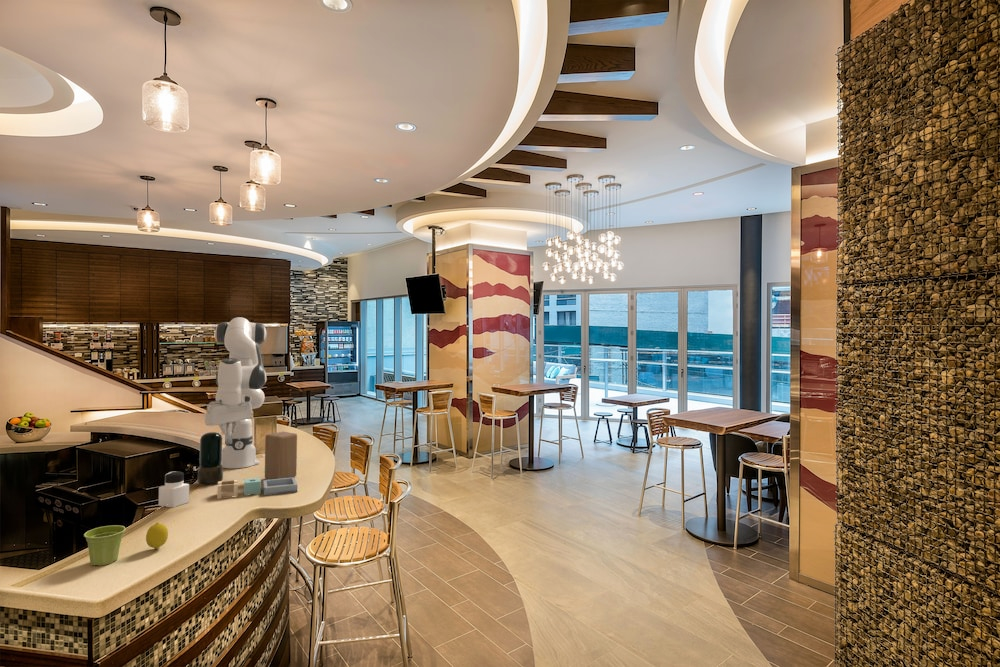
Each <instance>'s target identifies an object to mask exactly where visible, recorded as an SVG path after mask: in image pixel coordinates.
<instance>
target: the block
mask: <svg viewBox="0 0 1000 667" xmlns="http://www.w3.org/2000/svg"><path fill="white" fill-rule="evenodd" d="M264 444H265V445H264V448H265V449H264V451H265V452H264V478H265V480H272V479H282V478H292V477H295V478H296V477H297V468H298V467H297V465H298V464H297V461H298V454H297V453H298V435H297V433H294V432H288V431H279V432H274V433H269V434H266V435H265V443H264Z"/></svg>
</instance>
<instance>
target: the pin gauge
mask: <svg viewBox="0 0 1000 667" xmlns="http://www.w3.org/2000/svg"><path fill="white" fill-rule="evenodd" d="M225 428H226V430H228V434H225V435H224V445H226V444H232V429H233V422H230V423H226V426H225Z"/></svg>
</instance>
